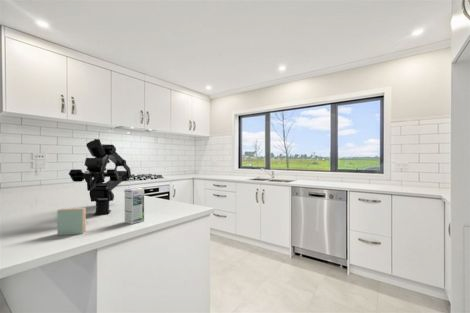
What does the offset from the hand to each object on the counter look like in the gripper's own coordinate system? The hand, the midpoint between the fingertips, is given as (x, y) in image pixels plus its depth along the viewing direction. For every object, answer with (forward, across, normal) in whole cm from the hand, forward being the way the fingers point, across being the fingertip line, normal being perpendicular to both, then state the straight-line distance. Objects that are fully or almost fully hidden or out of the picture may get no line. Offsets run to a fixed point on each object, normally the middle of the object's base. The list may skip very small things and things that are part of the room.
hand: (88, 190), depth 90 cm
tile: (+19, 0, 0) cm, 19 cm away
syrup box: (+12, +19, +8) cm, 24 cm away
